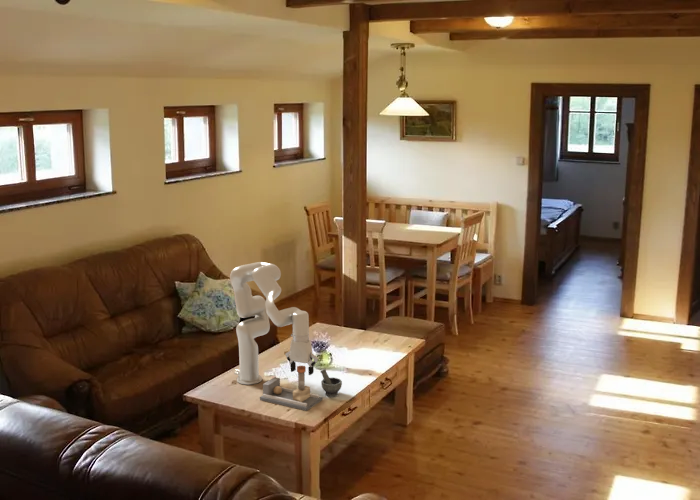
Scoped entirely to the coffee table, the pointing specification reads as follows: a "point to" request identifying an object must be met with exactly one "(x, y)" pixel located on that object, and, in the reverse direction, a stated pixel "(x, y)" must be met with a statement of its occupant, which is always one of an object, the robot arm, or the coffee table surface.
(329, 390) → the mortar and pestle
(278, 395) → the nut press base
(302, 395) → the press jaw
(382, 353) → the coffee table surface
